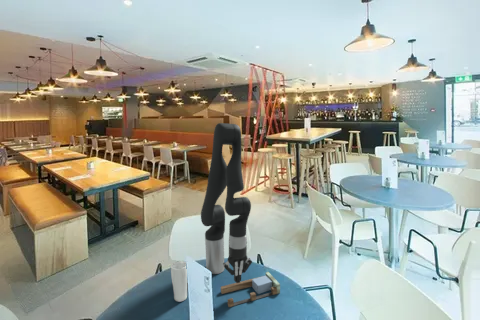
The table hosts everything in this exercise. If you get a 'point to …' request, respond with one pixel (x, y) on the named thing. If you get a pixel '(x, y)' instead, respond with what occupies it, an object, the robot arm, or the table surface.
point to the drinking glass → (179, 280)
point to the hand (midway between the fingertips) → (237, 281)
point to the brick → (261, 284)
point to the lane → (248, 283)
